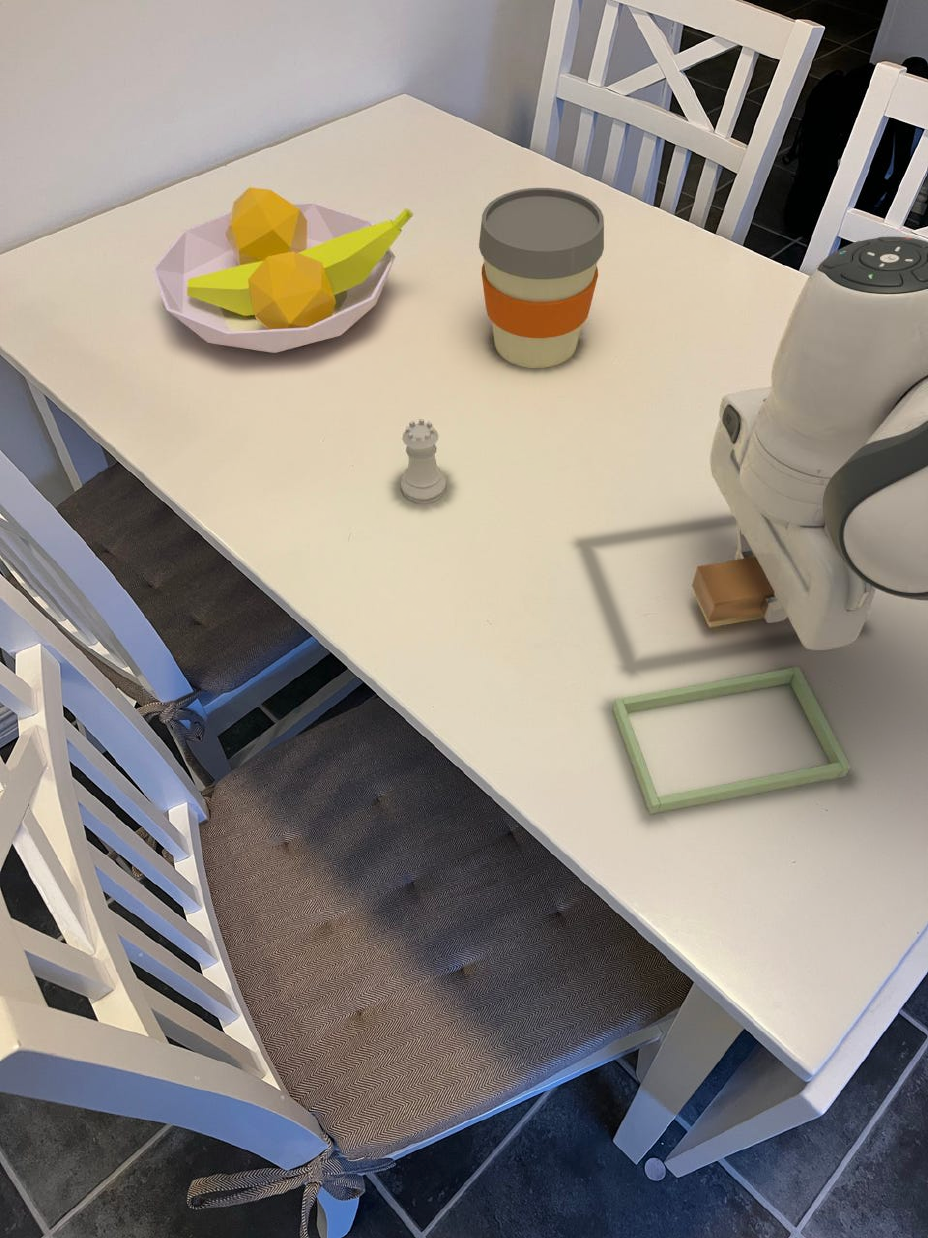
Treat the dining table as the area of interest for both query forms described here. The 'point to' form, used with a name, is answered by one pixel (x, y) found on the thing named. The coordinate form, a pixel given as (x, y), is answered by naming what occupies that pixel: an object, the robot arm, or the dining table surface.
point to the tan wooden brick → (731, 591)
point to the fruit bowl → (277, 271)
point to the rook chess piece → (422, 464)
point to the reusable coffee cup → (539, 272)
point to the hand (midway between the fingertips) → (758, 589)
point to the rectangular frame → (742, 788)
